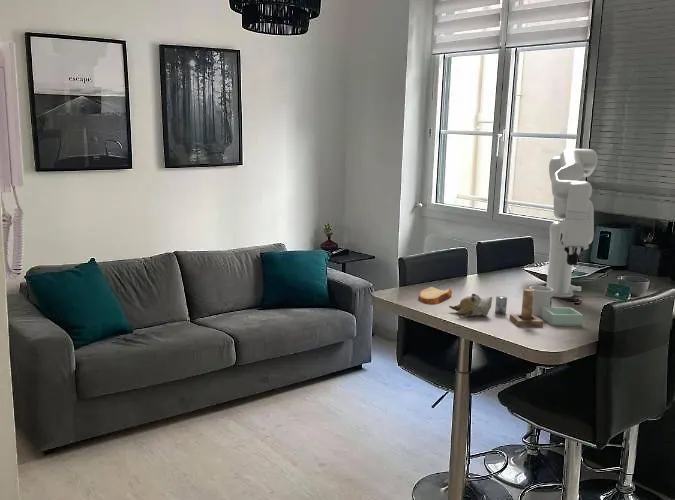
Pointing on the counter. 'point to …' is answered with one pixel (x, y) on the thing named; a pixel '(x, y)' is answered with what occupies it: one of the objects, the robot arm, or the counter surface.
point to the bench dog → (501, 305)
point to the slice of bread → (434, 295)
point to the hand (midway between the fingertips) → (571, 264)
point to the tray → (562, 316)
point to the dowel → (527, 304)
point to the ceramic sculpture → (473, 306)
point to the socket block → (526, 321)
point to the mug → (541, 299)
